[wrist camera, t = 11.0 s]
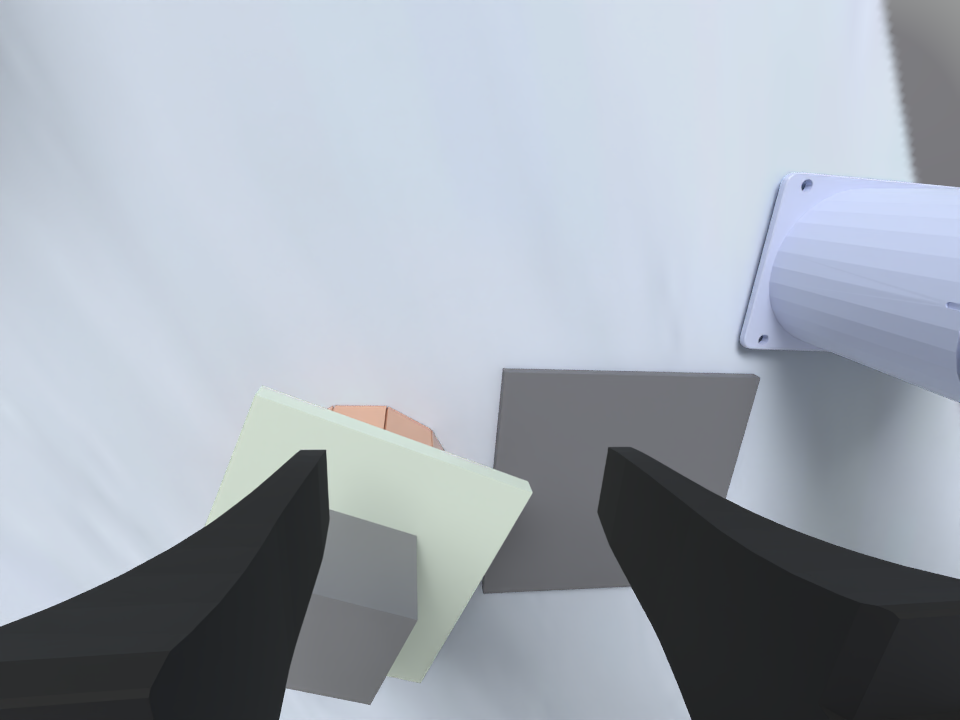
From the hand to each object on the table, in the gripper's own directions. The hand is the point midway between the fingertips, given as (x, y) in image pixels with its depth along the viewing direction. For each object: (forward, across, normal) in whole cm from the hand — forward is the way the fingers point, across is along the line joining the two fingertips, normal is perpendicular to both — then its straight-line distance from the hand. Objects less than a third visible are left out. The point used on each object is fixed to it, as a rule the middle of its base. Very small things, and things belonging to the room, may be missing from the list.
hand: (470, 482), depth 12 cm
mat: (+10, -9, +7) cm, 16 cm away
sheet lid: (+6, +4, +7) cm, 10 cm away
